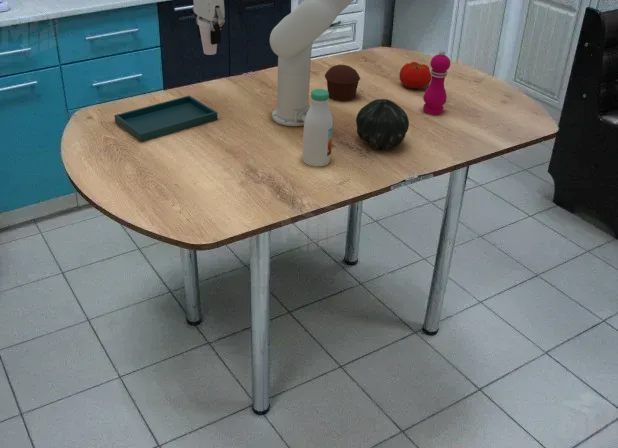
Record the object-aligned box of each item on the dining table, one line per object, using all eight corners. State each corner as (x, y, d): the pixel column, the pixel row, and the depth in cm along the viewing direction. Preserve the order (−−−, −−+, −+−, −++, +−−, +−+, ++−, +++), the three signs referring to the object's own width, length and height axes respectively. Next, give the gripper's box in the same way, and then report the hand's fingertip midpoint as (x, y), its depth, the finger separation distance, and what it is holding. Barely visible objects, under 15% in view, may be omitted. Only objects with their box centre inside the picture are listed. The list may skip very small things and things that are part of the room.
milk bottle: (321, 170, 179) (325, 100, 168) (296, 161, 182) (299, 92, 171) (335, 159, 184) (340, 90, 173) (311, 151, 188) (315, 83, 176)
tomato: (431, 92, 227) (435, 71, 223) (399, 91, 227) (402, 69, 223) (427, 80, 236) (430, 60, 232) (396, 79, 236) (399, 58, 232)
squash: (384, 108, 201) (367, 81, 188) (424, 127, 193) (408, 99, 180) (357, 146, 200) (338, 121, 188) (396, 166, 192) (378, 142, 179)
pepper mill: (419, 106, 217) (428, 46, 206) (441, 106, 217) (451, 46, 206) (424, 115, 211) (433, 54, 200) (446, 116, 211) (457, 54, 200)
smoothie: (223, 50, 203) (221, 3, 195) (218, 57, 198) (216, 9, 190) (202, 48, 204) (199, 1, 196) (196, 55, 198) (194, 7, 191)
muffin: (364, 95, 223) (367, 66, 217) (348, 105, 215) (350, 76, 209) (334, 86, 228) (336, 58, 222) (316, 96, 220) (318, 67, 214)
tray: (217, 119, 202) (217, 112, 201) (141, 142, 188) (140, 134, 187) (189, 102, 212) (189, 95, 210) (115, 122, 198) (114, 115, 196)
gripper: (235, -18, 185) (236, 46, 195) (201, -31, 196) (204, 30, 206) (212, -14, 181) (214, 51, 191) (179, -28, 192) (183, 34, 202)
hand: (209, 39), depth 199 cm, fingers closed on smoothie, 6 cm apart
